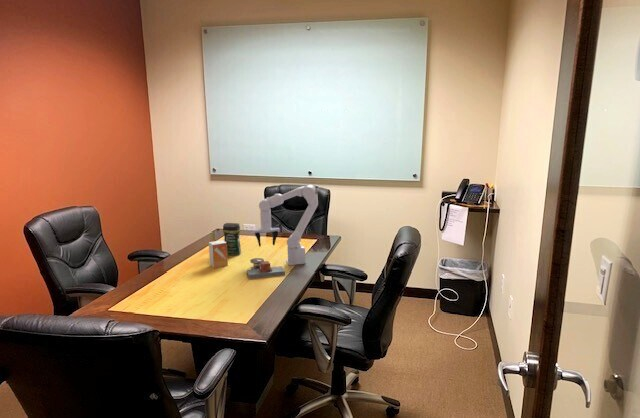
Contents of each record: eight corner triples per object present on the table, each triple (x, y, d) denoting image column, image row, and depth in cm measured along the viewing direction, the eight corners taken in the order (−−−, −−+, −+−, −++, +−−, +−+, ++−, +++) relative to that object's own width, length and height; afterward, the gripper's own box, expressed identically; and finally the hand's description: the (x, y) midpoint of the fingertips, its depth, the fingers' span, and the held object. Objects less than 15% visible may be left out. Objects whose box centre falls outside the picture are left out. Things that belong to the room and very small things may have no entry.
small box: (213, 268, 226) (212, 244, 223) (209, 265, 231) (208, 242, 229) (228, 265, 230) (227, 242, 228) (224, 262, 235) (222, 239, 233)
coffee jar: (222, 255, 248) (220, 224, 244) (227, 251, 256) (225, 221, 252) (238, 256, 246) (236, 225, 243) (242, 252, 254) (241, 221, 250)
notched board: (281, 269, 223) (281, 266, 222) (284, 274, 215) (284, 271, 215) (247, 273, 218) (246, 269, 217) (249, 278, 210) (248, 275, 210)
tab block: (268, 272, 220) (268, 261, 219) (270, 274, 216) (270, 263, 215) (260, 273, 218) (260, 262, 217) (262, 275, 215) (262, 264, 213)
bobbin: (263, 266, 228) (262, 257, 227) (265, 270, 222) (264, 261, 221) (249, 267, 226) (249, 258, 225) (251, 272, 220) (251, 262, 219)
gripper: (277, 218, 237) (278, 242, 240) (251, 220, 233) (252, 244, 236) (280, 221, 231) (280, 245, 233) (253, 223, 227) (254, 248, 229)
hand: (266, 245), depth 234 cm, fingers open, 7 cm apart
